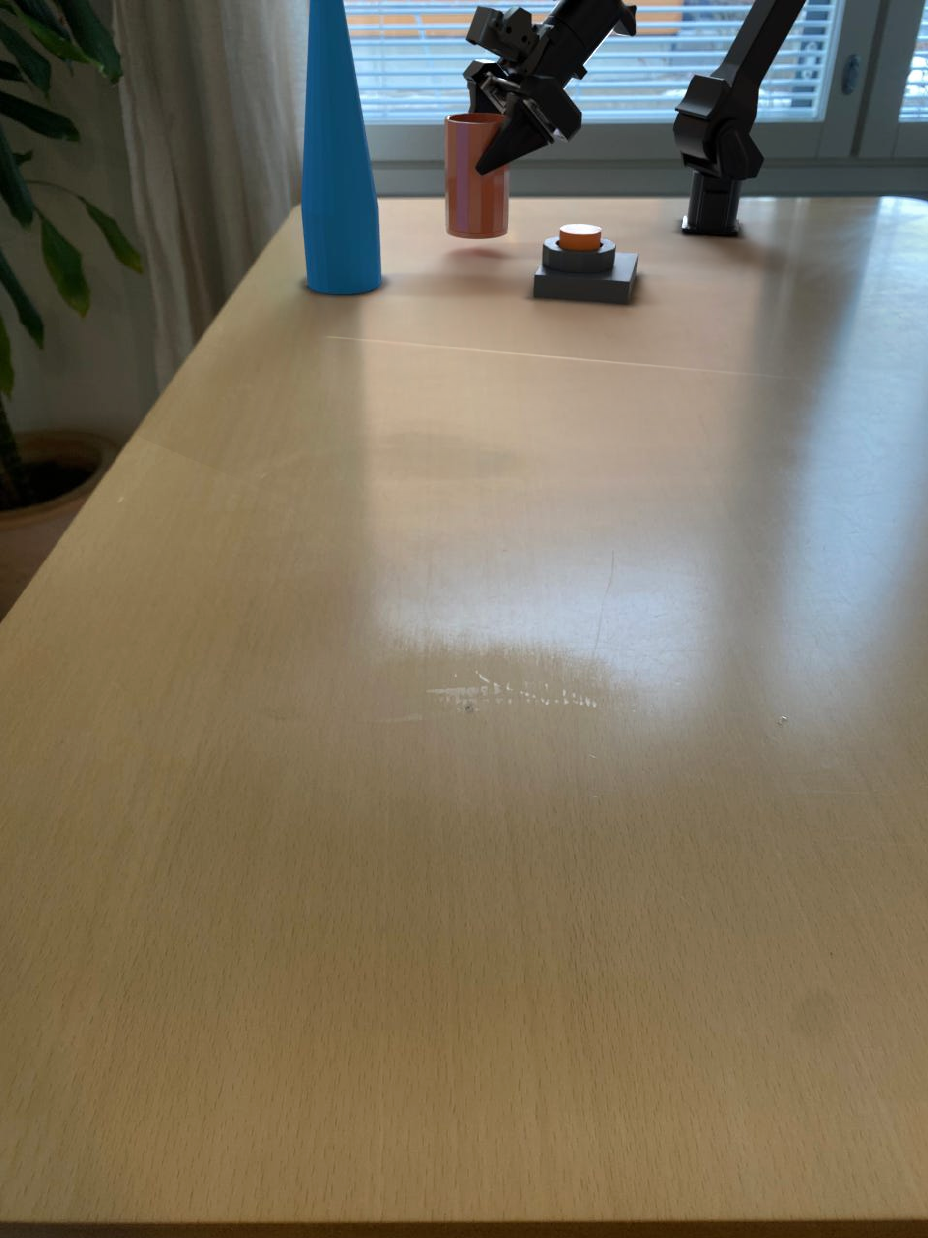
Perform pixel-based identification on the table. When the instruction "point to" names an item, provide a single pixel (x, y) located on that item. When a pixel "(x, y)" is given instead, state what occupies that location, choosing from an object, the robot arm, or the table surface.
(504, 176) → the cup
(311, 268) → the bottle
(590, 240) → the orange push button
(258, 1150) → the table surface
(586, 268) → the button base
